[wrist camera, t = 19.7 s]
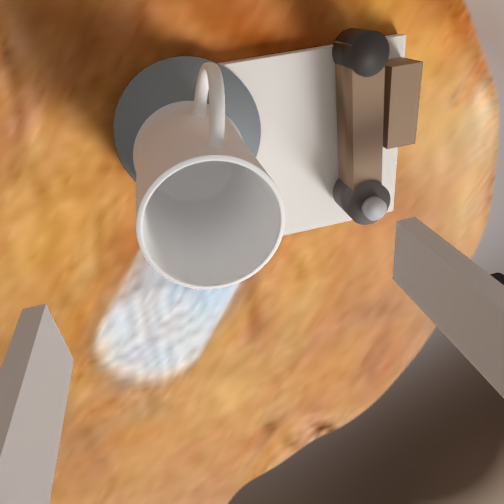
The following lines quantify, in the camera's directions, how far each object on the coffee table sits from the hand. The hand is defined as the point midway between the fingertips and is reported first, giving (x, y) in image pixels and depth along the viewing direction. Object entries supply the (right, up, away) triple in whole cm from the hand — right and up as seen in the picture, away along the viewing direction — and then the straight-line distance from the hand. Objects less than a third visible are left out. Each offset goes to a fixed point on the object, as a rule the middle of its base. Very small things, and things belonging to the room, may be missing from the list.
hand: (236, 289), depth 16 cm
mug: (-4, +10, +16) cm, 19 cm away
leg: (+9, +11, +18) cm, 23 cm away
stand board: (+2, +10, +19) cm, 22 cm away
